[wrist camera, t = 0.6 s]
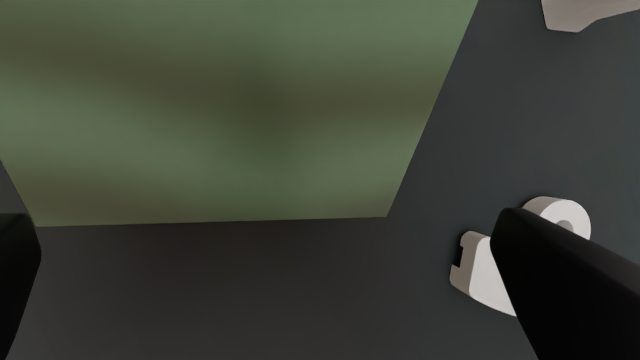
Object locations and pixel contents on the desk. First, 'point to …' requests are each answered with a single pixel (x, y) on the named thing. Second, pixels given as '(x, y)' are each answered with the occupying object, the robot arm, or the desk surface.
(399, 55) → the lid
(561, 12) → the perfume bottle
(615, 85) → the desk surface
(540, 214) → the joystick
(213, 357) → the desk surface
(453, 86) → the desk surface
